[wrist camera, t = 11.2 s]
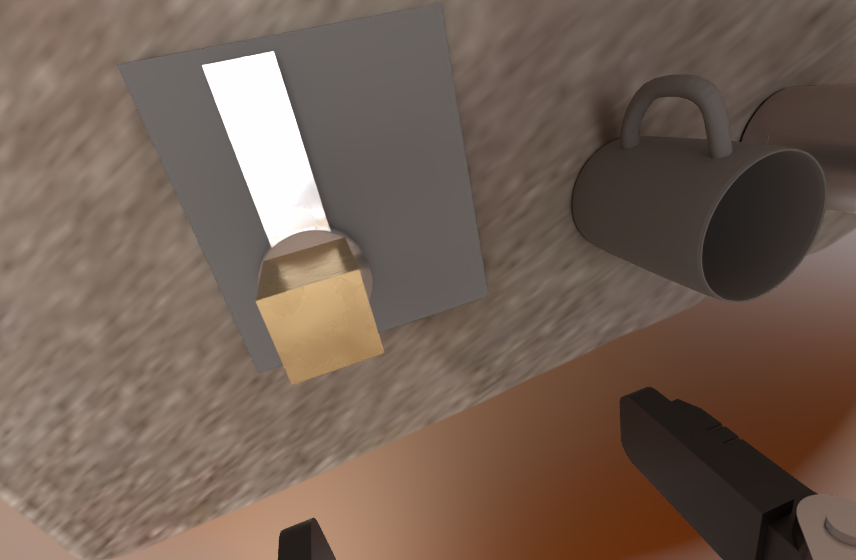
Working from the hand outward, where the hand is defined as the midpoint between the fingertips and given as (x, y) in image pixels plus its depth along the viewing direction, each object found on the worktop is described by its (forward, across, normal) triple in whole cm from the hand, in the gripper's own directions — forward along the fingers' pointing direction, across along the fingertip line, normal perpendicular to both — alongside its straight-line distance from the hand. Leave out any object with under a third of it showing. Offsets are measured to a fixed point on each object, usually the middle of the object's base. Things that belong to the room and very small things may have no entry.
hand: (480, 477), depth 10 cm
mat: (+21, +1, -3) cm, 22 cm away
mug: (+22, -20, 0) cm, 30 cm away
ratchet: (+21, +4, -4) cm, 21 cm away
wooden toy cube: (+18, +4, +1) cm, 19 cm away
